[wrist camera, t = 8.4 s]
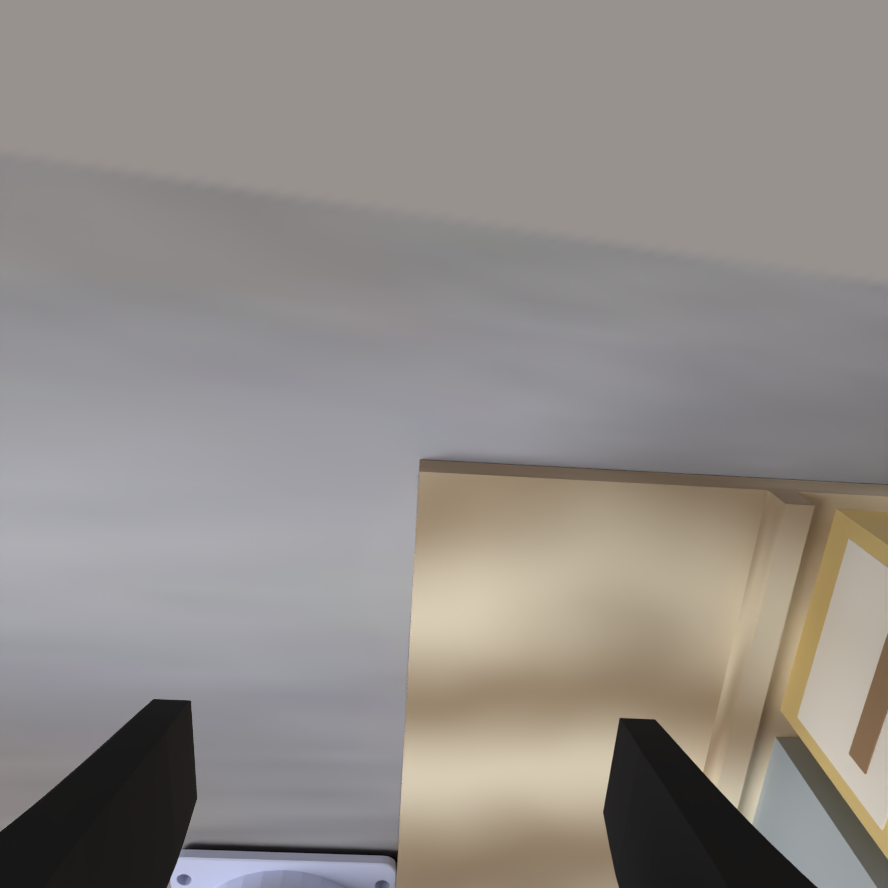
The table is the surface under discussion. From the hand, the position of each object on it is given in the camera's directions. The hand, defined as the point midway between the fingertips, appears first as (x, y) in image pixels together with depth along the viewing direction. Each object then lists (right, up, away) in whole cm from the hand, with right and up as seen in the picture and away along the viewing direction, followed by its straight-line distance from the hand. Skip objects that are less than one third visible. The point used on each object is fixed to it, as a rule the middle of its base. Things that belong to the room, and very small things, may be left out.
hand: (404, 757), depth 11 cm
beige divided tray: (+8, -3, +11) cm, 14 cm away
